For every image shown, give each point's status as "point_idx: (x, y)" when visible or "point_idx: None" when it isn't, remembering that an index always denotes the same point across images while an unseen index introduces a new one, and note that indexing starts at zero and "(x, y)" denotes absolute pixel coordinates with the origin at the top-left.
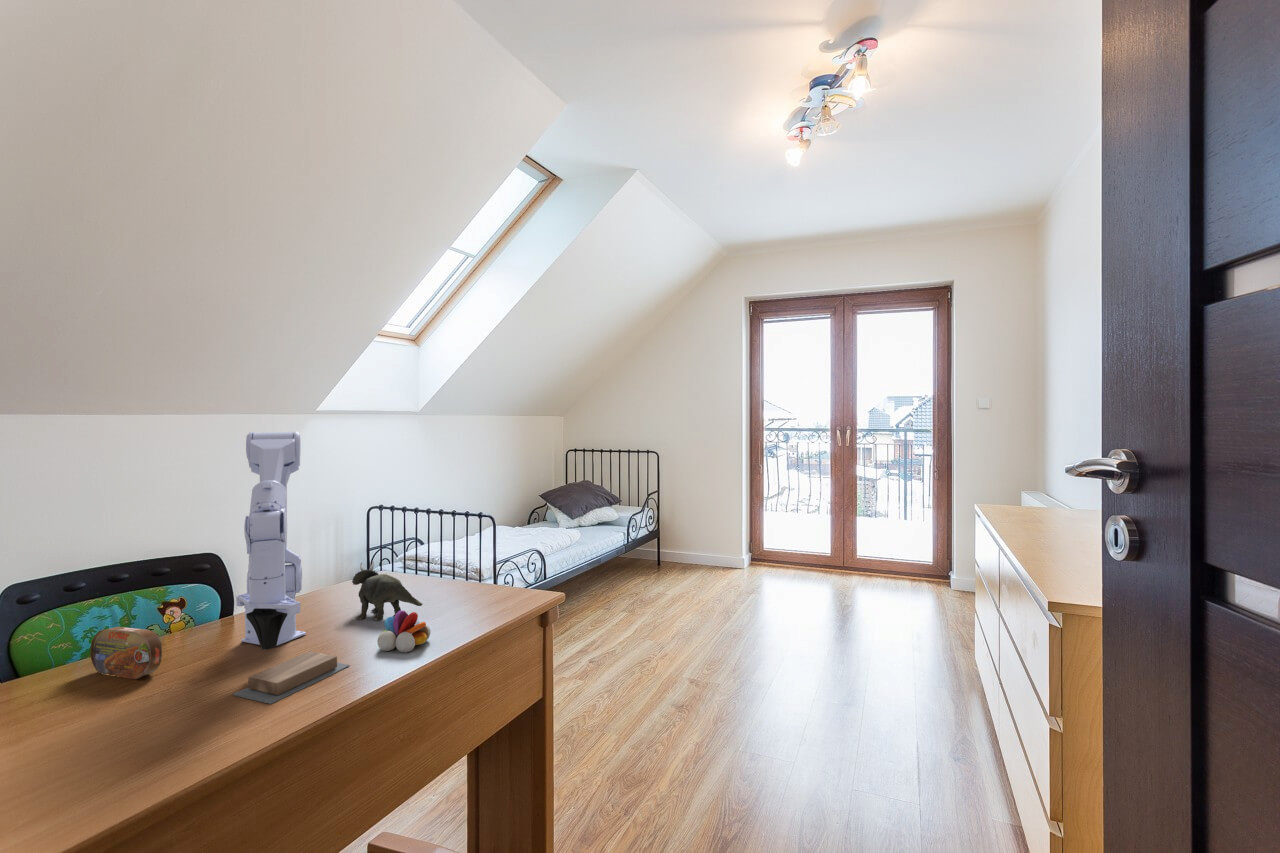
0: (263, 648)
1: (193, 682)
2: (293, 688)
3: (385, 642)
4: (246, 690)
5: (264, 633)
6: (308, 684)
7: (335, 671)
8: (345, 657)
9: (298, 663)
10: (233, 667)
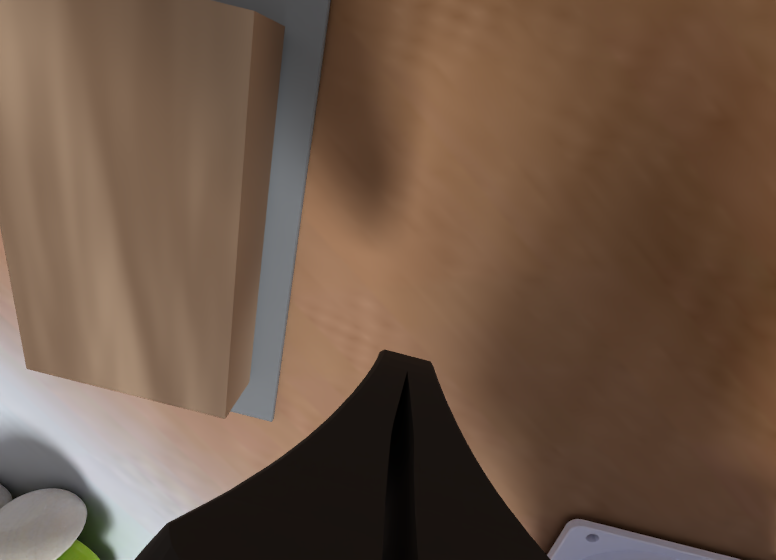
0: (405, 357)
1: (764, 95)
2: None
3: (5, 514)
4: (291, 13)
5: (335, 420)
6: None
7: None
8: (163, 438)
9: (129, 267)
10: (629, 317)
